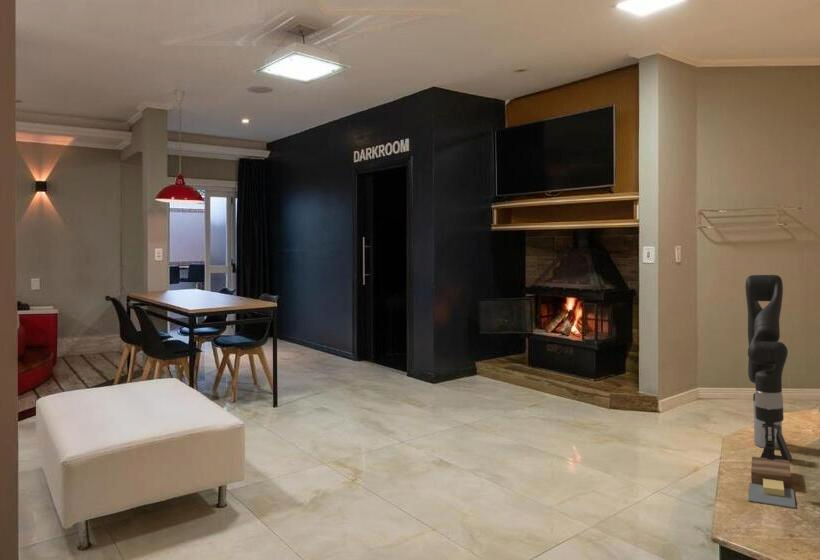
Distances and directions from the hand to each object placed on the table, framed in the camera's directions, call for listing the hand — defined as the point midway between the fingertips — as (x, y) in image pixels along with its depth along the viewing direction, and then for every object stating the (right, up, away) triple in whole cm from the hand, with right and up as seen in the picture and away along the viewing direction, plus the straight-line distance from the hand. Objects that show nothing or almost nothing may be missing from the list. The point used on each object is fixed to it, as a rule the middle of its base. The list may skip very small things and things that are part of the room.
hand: (770, 458), depth 183 cm
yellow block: (+1, -10, +1) cm, 10 cm away
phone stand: (+20, -9, +29) cm, 36 cm away
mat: (-1, -11, -2) cm, 11 cm away
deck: (+7, -10, +11) cm, 17 cm away
